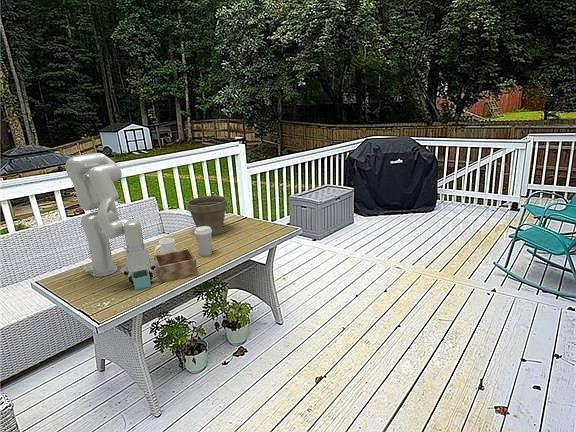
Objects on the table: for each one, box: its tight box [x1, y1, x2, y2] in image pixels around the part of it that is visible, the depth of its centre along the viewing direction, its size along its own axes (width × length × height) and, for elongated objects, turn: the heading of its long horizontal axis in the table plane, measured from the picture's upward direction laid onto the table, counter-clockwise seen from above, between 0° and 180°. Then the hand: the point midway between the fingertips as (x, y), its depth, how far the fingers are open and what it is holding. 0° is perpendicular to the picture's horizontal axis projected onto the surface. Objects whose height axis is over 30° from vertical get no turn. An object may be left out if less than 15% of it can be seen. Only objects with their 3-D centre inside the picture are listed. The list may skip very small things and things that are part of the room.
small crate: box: [131, 269, 152, 292], centre depth 187 cm, size 7×11×6 cm, turn 25°
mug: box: [154, 237, 177, 256], centre depth 214 cm, size 12×8×10 cm
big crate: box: [153, 248, 198, 284], centre depth 198 cm, size 18×16×8 cm
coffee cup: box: [194, 226, 213, 257], centre depth 218 cm, size 10×10×15 cm
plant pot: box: [186, 195, 228, 237], centre depth 250 cm, size 25×25×22 cm
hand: (141, 281), depth 187 cm, fingers open, 8 cm apart
